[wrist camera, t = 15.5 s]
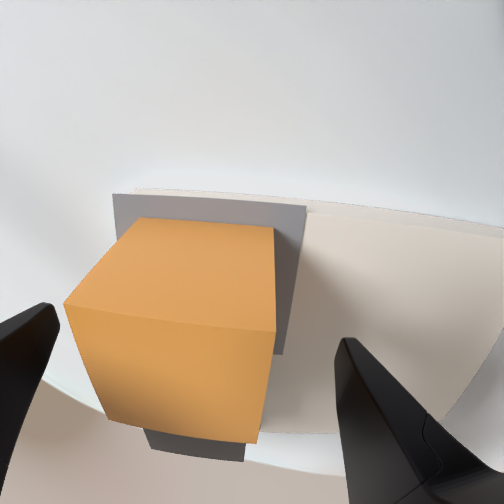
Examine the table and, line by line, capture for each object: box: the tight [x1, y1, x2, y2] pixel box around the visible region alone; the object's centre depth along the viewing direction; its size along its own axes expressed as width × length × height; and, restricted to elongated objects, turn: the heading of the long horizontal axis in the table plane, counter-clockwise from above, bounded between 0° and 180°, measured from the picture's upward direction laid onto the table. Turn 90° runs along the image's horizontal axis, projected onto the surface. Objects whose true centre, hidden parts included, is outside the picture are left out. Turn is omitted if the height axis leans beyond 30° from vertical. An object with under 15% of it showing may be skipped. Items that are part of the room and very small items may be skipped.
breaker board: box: [112, 188, 504, 433], centre depth 13 cm, size 18×13×2 cm
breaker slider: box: [143, 428, 246, 462], centre depth 12 cm, size 4×3×4 cm
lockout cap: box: [63, 217, 276, 444], centre depth 9 cm, size 4×4×5 cm
